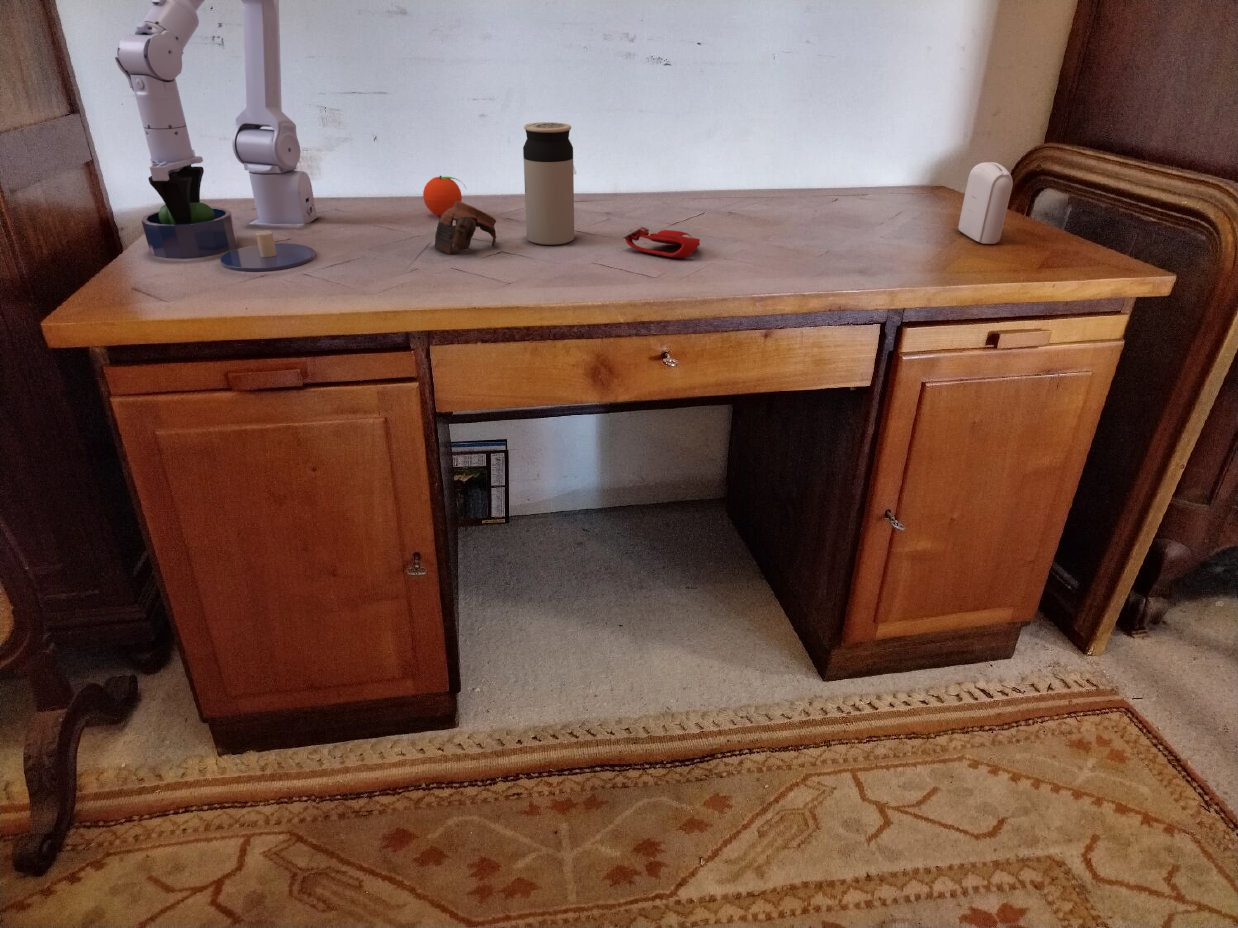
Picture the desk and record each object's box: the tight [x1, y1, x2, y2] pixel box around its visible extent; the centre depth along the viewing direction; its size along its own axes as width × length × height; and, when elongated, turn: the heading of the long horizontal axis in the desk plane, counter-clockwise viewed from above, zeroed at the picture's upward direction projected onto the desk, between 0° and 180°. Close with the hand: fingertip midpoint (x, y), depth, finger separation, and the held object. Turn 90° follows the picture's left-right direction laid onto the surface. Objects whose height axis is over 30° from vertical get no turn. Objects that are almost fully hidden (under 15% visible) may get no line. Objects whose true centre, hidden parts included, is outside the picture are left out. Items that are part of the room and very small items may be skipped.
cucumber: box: [158, 202, 215, 225], centre depth 128 cm, size 8×4×4 cm, turn 98°
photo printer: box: [957, 161, 1014, 245], centre depth 142 cm, size 10×4×12 cm, turn 2°
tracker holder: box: [621, 225, 701, 259], centre depth 132 cm, size 12×4×10 cm
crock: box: [141, 206, 238, 260], centre depth 129 cm, size 12×12×6 cm
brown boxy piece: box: [433, 201, 497, 255], centre depth 132 cm, size 12×10×8 cm
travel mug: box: [522, 121, 575, 246], centre depth 135 cm, size 8×8×18 cm
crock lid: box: [219, 230, 316, 272], centre depth 125 cm, size 13×13×4 cm
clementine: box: [422, 175, 467, 217], centre depth 151 cm, size 8×7×7 cm
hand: (187, 220), depth 128 cm, fingers closed on cucumber, 4 cm apart
